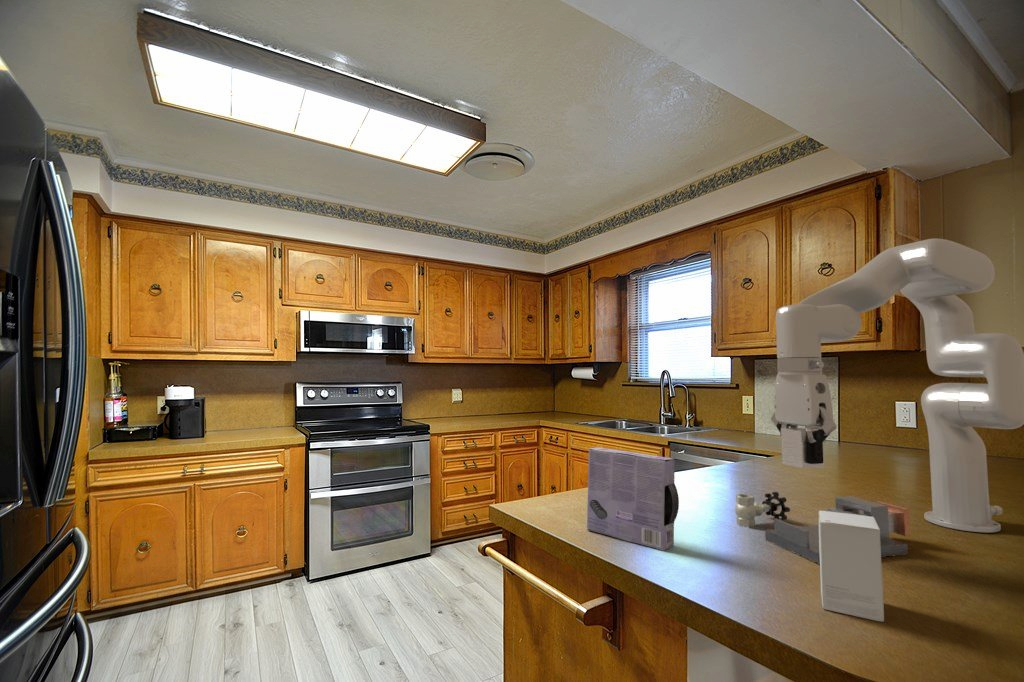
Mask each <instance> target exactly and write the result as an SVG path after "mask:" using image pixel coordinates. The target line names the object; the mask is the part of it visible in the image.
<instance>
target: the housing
mask: <svg viewBox="0 0 1024 682" xmlns="http://www.w3.org/2000/svg"><path fill="white" fill-rule="evenodd" d="M813 430H814V434H815V433H816V429H813ZM780 438H781V461H782V465H787V466H791V467H796V468H798V469H818V468H825V466H826V465H825V447H824V446H825V445H824V444H825V442H823V463H821V464H808V463H807V447H806V442H809V439H808V435H807V432H806V428H805V427H804V426H799V427H797V428H790V427H789V428H781V436H780Z"/></svg>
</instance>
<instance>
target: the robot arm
mask: <svg viewBox="0 0 1024 682" xmlns="http://www.w3.org/2000/svg"><path fill="white" fill-rule="evenodd" d="M995 275H996V270H995V266H994V264H993V262H992V261H991V259H990V258H989V257H988V256H987V255H985V253H983V252H980V251H978V250H976V249H974V248H971V247H969V246H967V245H966V246H965V245H964V244H961V243H960V242H959V243H958V242H955V241H953V240H949V239H944V238H928V239H923V240H919V241H913V242H910V243H905V244H902V245H896V246H892V247H890V248H888V249H887V248H886V249H885V250H883V251H882V252H880V253H879V254H877V255H876V256H875V257H874V258H872V259H871V260H869V261H868V262H867V263H866V264H864V265H863V266H862V267H861V268H860V269H858V270H857V271H855V272H854V273H853V274H852V275H849V276H848V277H845V278H843V279H841V280H840V281H837V282H835V283H833V284H831V285H829V286H827V287H825V288H823V289H821V290H819V291H817V292H815V293H813V294H810V295H809V296H807V297H805V298H804V299H803V300H800V301H799V303H798V304H788V305H783V306H781V307H779V308H778V309H777V310H776V313H775V330H776V331H775V333H776V358H777V361H776V362H777V374H776V378H775V384H774V398H773V400H774V401H773V404H774V412H773V415H772V416H771V417H770V420H771V422H772V423H773V424H774V425H775V426H776V429H777V430H778V432H779V437H781V428H799V427H804V428H806V432H807V435H808V439H809V442H806V447H807V463H808V464H821V463H823V442H824V443H825V442H826V441H827V438H829V436H830V434H832V433H833V432H834V431H835V430H836V429H837V428H838V427H837V424H836V422H835V421H834V414H833V413H834V412H833V403H832V395H831V390H830V386H829V381H828V379H827V376H826V374H823V369H824V367H825V362H824V361H822V343H823V344H824V343H825V344H826V343H827V344H828V343H840V342H845V341H849V340H851V339H853V338H854V337H856V336H857V335H858V333H859V332H861V328H862V317H861V316H860V314H863V313H865V312H869V311H872V310H875V309H878V308H880V307H882V306H883V305H885V304H886V303H887V302H888V301H889V300H891V299H892V298H893V297H894V296H896V294H897V293H899V292H900V293H901V294H902V295H903V296H904V297H906V298H907V299H908V300H909V301H910V302H911V303H912V304H913V305H914V306H915V307H916V309H918V311H919V312H920V315H921V316H922V319H923V325H924V335H925V350H926V351H925V352H926V361H927V365H928V369H929V370H930V371H931V372H932V373H933V374H935V375H937V376H939V377H940V376H942V377H949V378H986V381H987V383H973V382H972V383H971V382H942V383H935V384H932V385H930V386H928V387H926V388H925V389H924V390H923V392H922V394H921V397H920V405H921V409H922V413H923V416H924V419H925V423H926V428H927V436H928V447H929V449H928V450H929V467H930V469H929V470H930V471H929V472H930V485H931V488H930V489H931V504H932V510H928V511H925V512H924V515H923V516H924V517H923V518H924V519H925V520H926V521H927V522H929V523H931V524H935V525H936V526H941V527H944V528H947V529H952V530H953V529H954V530H958V531H963V532H964V531H966V532H972V533H973V532H974V533H982V534H983V533H986V534H987V533H989V534H990V533H991V534H992V533H998V532H1001V530H1002V527H1001V524H1000V523H999V522H998V521H996V520H993V516H997V515H1002V514H1003V513H1004V509H1003V508H1002V507H1001V506H1000V505H991V504H990V495H989V494H990V493H989V481H988V480H989V479H988V477H989V476H988V465H987V464H988V462H987V460H988V459H987V449H986V445H985V443H984V441H983V439H982V437H981V436H980V435H979V434H978V432H977V431H976V430H975V429H974V427H975V428H985V429H987V428H988V429H998V430H1015V429H1018V428H1020V427H1022V426H1023V425H1024V350H1023V348H1022V346H1021V343H1020V341H1018V340H1017V339H1016V338H1015V337H1013V336H1012V335H1009V334H1008V333H1002V332H1001V333H999V332H987V333H985V332H984V333H976V330H975V322H974V313H973V311H972V309H971V308H970V306H969V305H968V304H967V303H966V302H965V301H964V300H963V299H961V298H960V297H959V296H958V295H964V294H972V293H977V292H981V291H983V290H985V289H988V288H989V287H990V286H991V285H992V283H993V282H994V281H995V277H996V276H995ZM798 426H799V427H798ZM813 429H816V433H815V434H814V430H813Z"/></svg>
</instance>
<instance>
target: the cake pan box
mask: <svg viewBox="0 0 1024 682" xmlns="http://www.w3.org/2000/svg"><path fill="white" fill-rule="evenodd" d="M675 462H676V461H675V458H674V457H673V458H672V457H666V456H657V455H652V454H646V453H640V452H634V451H626V450H625V451H624V450H618V449H612V448H606V447H600V446H598V447H590V448H589V449H588V477H587V478H588V479H587V480H588V481H587V504H586V505H587V510H586V513H587V514H586V530H587V531H590V532H595V533H599V534H602V535H606V536H609V537H612V538H614V539H617V540H622V541H625V542H628V543H635V544H638V545H642V546H644V547H649V548H653V549H657V550H659V551H663V552H665V551H666V550H668V549H671V548H672V547H674V545H675V521H676V520H677V516H678V513H679V508H680V506H679V505H680V498H679V493H678V489H677V487H676V484H675V465H676V463H675ZM670 547H671V548H670Z"/></svg>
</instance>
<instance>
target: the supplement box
mask: <svg viewBox="0 0 1024 682" xmlns="http://www.w3.org/2000/svg"><path fill="white" fill-rule="evenodd" d="M818 525H819V553H820V565H819V573H820V574H819V575H820V576H819V578H820V596H821V597H820V598H821V607H822V609H824V610H825V611H826V610H827V611H831V612H835V613H839V614H844V615H847V616H848V615H849V616H851V617H852V616H853V617H858V618H862V619H865V620H866V619H867V620H872V621H876V622H882V623H883V622H884V621H885V609H884V607H885V606H884V589H883V588H884V587H883V586H884V585H883V584H884V583H883V567H882V558H881V544H880V529H879V527H878V524H877V522H876V520H875V518H874V517H871V516H863V515H855V514H847V513H838V512H829V511H828V510H827V511H826V510H818Z"/></svg>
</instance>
